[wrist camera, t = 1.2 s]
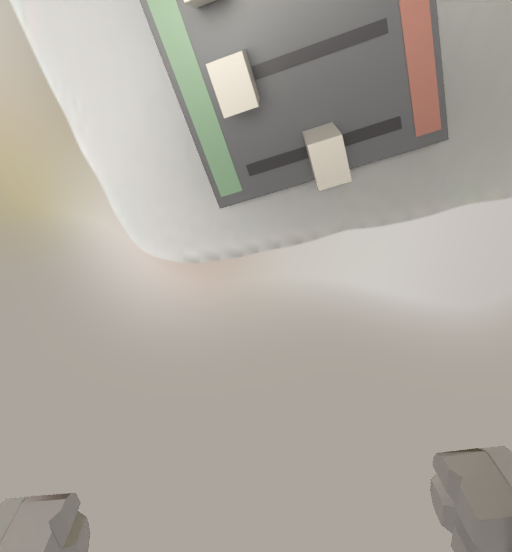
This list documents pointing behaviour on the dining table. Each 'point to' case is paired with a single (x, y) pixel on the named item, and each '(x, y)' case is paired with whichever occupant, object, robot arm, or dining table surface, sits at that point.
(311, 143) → the block
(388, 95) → the panel
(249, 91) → the block
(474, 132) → the dining table surface
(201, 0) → the inner breaker
